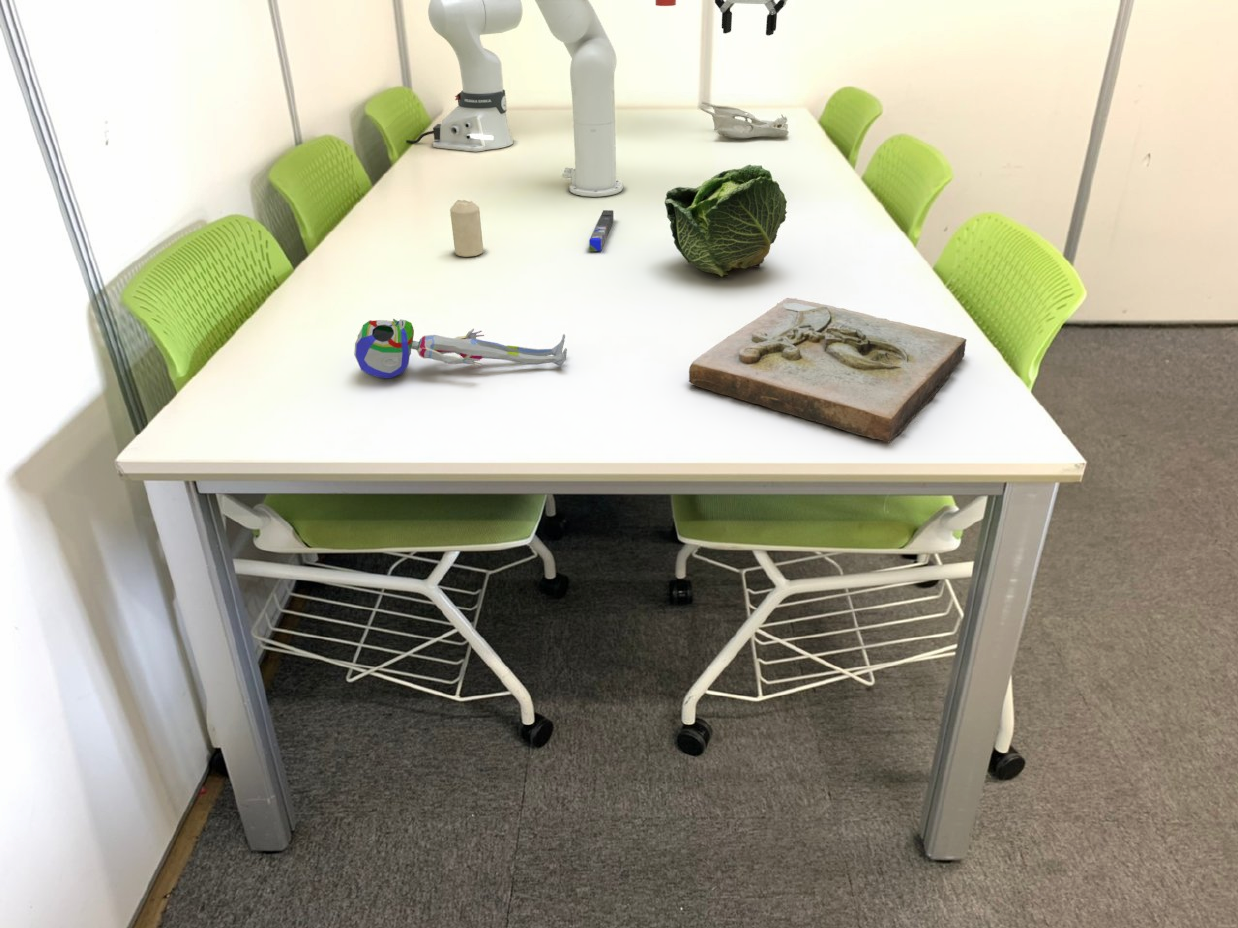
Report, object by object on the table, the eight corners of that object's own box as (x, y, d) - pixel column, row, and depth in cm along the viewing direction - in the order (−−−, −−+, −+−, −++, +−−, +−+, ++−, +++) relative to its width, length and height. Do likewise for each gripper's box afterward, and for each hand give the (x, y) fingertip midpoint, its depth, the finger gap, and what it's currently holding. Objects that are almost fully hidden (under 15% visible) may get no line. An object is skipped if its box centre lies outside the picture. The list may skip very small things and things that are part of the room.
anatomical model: (702, 99, 259) (790, 97, 255) (702, 132, 264) (788, 131, 260) (698, 109, 247) (790, 108, 243) (698, 144, 252) (788, 143, 248)
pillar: (613, 210, 190) (600, 241, 173) (613, 220, 191) (600, 251, 174) (603, 210, 190) (589, 240, 173) (603, 220, 191) (589, 251, 174)
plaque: (899, 396, 108) (687, 337, 122) (890, 447, 111) (686, 383, 126) (977, 316, 128) (788, 274, 143) (967, 361, 132) (784, 315, 147)
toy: (569, 347, 126) (349, 329, 122) (563, 400, 131) (350, 385, 126) (565, 318, 135) (359, 301, 130) (559, 369, 139) (360, 354, 134)
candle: (488, 249, 176) (483, 198, 171) (475, 258, 172) (470, 206, 167) (463, 246, 178) (457, 196, 173) (450, 255, 174) (443, 204, 168)
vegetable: (694, 294, 173) (643, 202, 166) (775, 239, 175) (728, 145, 167) (734, 307, 155) (678, 205, 147) (824, 245, 156) (773, 141, 149)
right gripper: (800, -59, 182) (792, 33, 191) (720, -60, 189) (717, 30, 198) (788, -58, 177) (781, 38, 186) (707, -58, 183) (704, 34, 193)
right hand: (748, 33), depth 192 cm, fingers open, 9 cm apart
